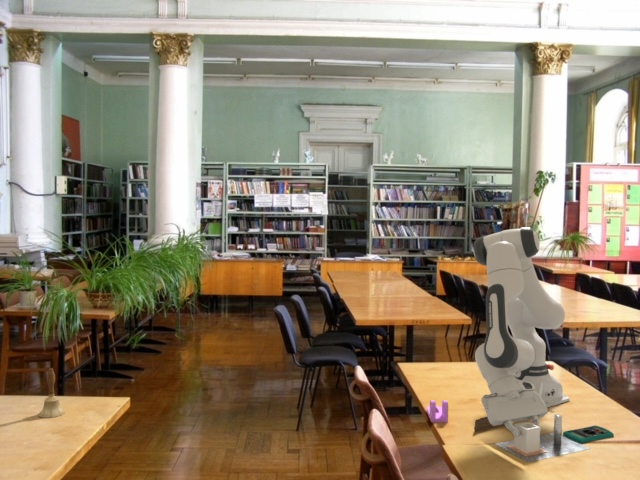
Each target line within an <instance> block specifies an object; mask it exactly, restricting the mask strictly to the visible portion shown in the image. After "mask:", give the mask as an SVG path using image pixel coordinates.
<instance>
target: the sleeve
mask: <svg viewBox="0 0 640 480" xmlns="http://www.w3.org/2000/svg"><path fill="white" fill-rule="evenodd" d="M514 427H515V428H516V429H519V430H520V432H521V435H520V436H519V437H513V438H514V439H513V440H514V447H515V448H517V449H519V450H521V451H523V452H524V453H531V452H535V451H539V449H540V435H541V432H540V428H541V426H540V427H538V426H536V425H534V423H533V422H531V421H525V422H524V421H521V422H516V423H514Z"/></svg>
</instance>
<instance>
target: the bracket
mask: <svg viewBox="0 0 640 480" xmlns="http://www.w3.org/2000/svg"><path fill="white" fill-rule="evenodd" d="M441 401H442V402H441V406H439V405H436V404H437V402H436V400H434V399H430V401H429V405H428V406H427V407H426V413H427V415H428V418H429V420H430V422H431V423H449V400H447V399H446V400H445V399H443V400H441Z"/></svg>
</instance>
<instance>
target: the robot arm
mask: <svg viewBox="0 0 640 480" xmlns="http://www.w3.org/2000/svg"><path fill="white" fill-rule="evenodd" d="M540 243H541V242H540V239H539V236H538V234H537V232H536V231H535V229H534V228H532V227H530V226H528V227H527V226H524V227H523V226H521V227H520V228H510V229H505V230H501V231H499V232H494V233H491V234H488V235H482V236H481V237H480V236H479V237H478V238H476V239H475V240H474V242H473V248H472V249H473V250H472V251H473V255H474V258H475V260H476V261H477V263H478V264H479V265H482V266H485V267H486V275H487V291H486V294H485V319H486V320H485V321H486V322H485V323H486V324H485V325H486V331H485V339H484V343H481V344H480V345H479V346H478V347H477V348H476V350H475V353H474V358H475V361H476V362H475V363H476V365H477V367H478V370H479V372H480V374H481V375H482V378H483V379H484V380H485V381H486V383H487V387H488V389H489V392H490V393H489V394H484V395H482V397H481V400H480V401H481V403H482V405H483V407H484V408H483V409H484V412H485V414H486V415H485V416H486V417H487V418H488V420H489V422H490V424H492V425H493V426H494V427H497V426H496V425H500V426H503V425H502V424H505V425H504V426H505V427H506V429H508V430H509V431H510V432H511V433H512V435H513V436H514V437H519V436H520V435H521V432H520V430H519V429H516V428H515V425H514V423H520V422H524V421H528V420H530V423H533V424H534V425H536V426H538V427H540V433H541V432H542V428H541V426H540V418H543V417H544V416H546V415H547V414H548V411H549V410H548V408H550V407H554V406H556V405H560V404H564V403H566V402H570V397H569V396H568V395H567V394H564V392H563V385H562V383H561V382H560V381H559V380H558V379H556V378H555V377H554V376H553V375H552V374H551V373H550V372H549V370H551V371H554V369H555V365H554V364H550V363H548V364H547V362H546V354H547V353H546V349H547V345H546V342H545V341H544V339H543V338H542V337H540V336H539V333H538V332H537V331H536V328H537V329H542V330H557V329H559V328H560V327H561V326H562V325H563V323H564V321H565V318H566V312H565V309H564V307H563V305H562V304H561V303H559V302H558V301H556V300H555V299H554V298H553V297H552V296H551V295H550V294H549V293H548V292H547V291H546V289H545V288H544V287H543V285H542V284H541V282H540V280H539V278H538V275H537V272H536V270H535V266H534V264H533V261H532V257H535V256H536V255H537V254H538V253H539V250H540ZM509 329H510V332H511V334H510V332H509ZM514 437H513V438H514Z"/></svg>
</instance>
